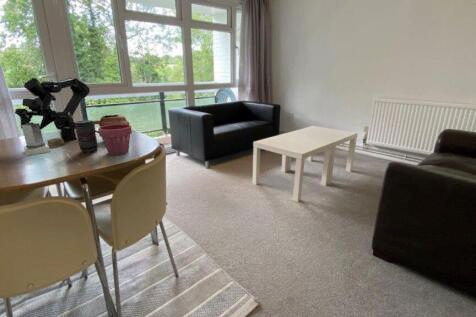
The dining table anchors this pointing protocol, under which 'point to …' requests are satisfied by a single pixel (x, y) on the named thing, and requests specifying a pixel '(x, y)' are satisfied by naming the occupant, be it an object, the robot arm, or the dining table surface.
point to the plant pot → (116, 138)
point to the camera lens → (86, 136)
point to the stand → (37, 150)
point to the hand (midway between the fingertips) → (31, 128)
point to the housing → (33, 135)
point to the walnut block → (55, 142)
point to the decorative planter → (111, 120)
